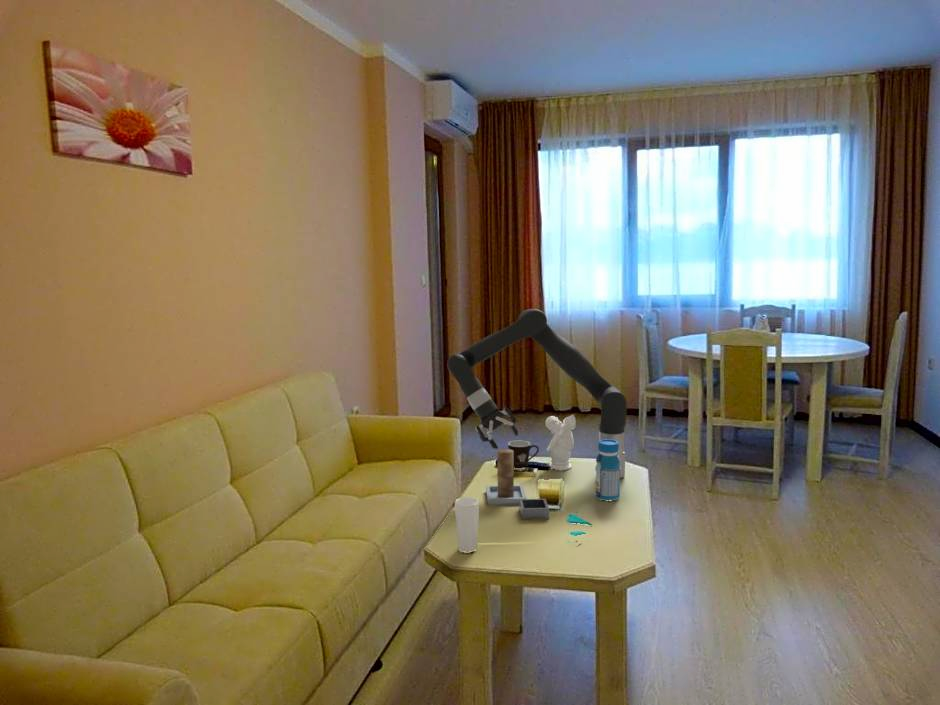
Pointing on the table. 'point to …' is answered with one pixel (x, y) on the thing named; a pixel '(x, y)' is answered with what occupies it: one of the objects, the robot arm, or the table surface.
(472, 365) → the robot arm
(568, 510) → the table surface
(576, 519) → the cloth
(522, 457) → the coffee mug
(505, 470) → the canister
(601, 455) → the beverage bottle
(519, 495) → the tray
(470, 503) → the drinking glass
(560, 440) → the cherub figurine
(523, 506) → the holder cup
